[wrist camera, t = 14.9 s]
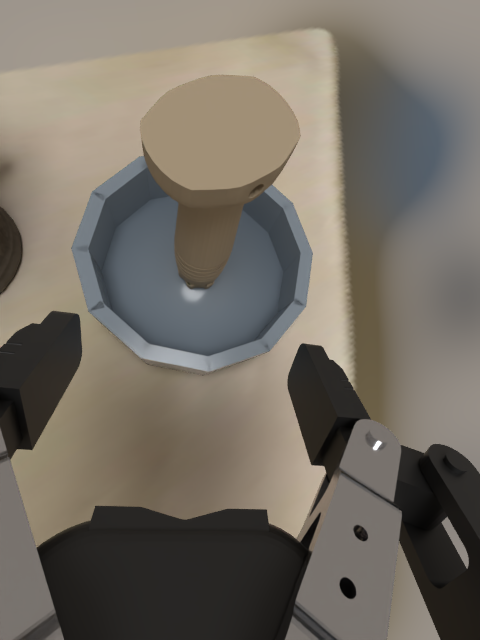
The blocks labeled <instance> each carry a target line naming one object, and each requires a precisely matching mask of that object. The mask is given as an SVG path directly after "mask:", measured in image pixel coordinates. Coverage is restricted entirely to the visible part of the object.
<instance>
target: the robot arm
mask: <svg viewBox="0 0 480 640" xmlns="http://www.w3.org/2000/svg"><path fill="white" fill-rule="evenodd" d="M81 356H82V343H81V328H80V318H79V315H78V314H74V313H66V312H58V311H52V312H51V313H50V314H49V315H48V316H47V317H46V318H45V319H44V320H43V321H42V323H41V324H34V323H32V324H30V325H28V326H26V327H24V328H22V329H20V330H19V331H17V332H16V333H15V334H14V335H13V336H12V337H11V338H10V339H9V340H8V341H7V343H6V344H4V345H3V346H2V347H1V348H0V640H387V636H388V627H389V619H390V610H391V602H392V594H393V585H394V577H395V568H396V561H397V552H398V544H399V541H400V544H401V546H402V548H403V551H404V553H405V556H406V558H407V561H408V563H409V565H410V568H411V570H412V572H413V575H414V577H415V580H416V582H417V584H418V587H419V589H420V592H421V594H422V596H423V599H424V601H425V604H426V606H427V608H428V611H429V613H430V616H431V618H432V620H433V623H434V625H435V628H436V630H437V632H438V635H439V637H440V639H441V640H480V474H479V472H478V471H477V470H476V468H475V467H474V466H473V465H472V463H471V462H470V461H469V460H468V459H467V458H465V457H464V456H463V455H462V454H460V453H459V452H457V451H456V450H454V449H452V448H450V447H448V446H445V445H441V444H433V445H431V446H430V447H429V449H428V450H427V451H426V452H425V453H422V452H419V451H416V450H414V449H411V448H408V447H405V446H402V445H400V443H399V441H398V439H397V438H396V436H395V435H394V434H393V433H392V432H391V431H390V430H389V429H388V428H386V427H385V426H383V425H382V424H380V423H378V422H375V421H373V420H371V419H370V417H369V415H368V413H367V412H366V410H365V408H364V406H363V404H362V403H361V401H360V399H359V397H358V396H357V394H356V392H355V390H353V387H352V385H351V383H350V382H348V378H347V376H346V374H345V373H344V371H343V369H342V368H341V367H340V366H339V365H338V364H336V363H335V362H334V361H333V360H329V358H328V356H327V354H326V352H325V350H324V349H323V347H322V346H318V345H310V344H301V345H300V347H299V349H298V351H297V354H296V356H295V359H294V361H293V364H292V367H291V369H290V372H289V375H288V390H289V394H290V397H291V400H292V403H293V407H294V410H295V413H296V416H297V420H298V423H299V426H300V430H301V433H302V436H303V439H304V443H305V446H306V449H307V452H308V456H309V459H310V462H311V465H318V466H324V467H325V470H326V473H325V475H324V477H323V479H322V481H321V484H320V486H319V489H318V491H317V493H316V496H315V498H314V501H313V503H312V506H311V508H310V510H309V513H308V515H307V518H306V520H305V523H304V525H303V527H302V529H301V531H300V533H299V535H298V537H297V539H295V538H294V537H293V536H292V535H290V534H289V533H287V532H285V531H284V530H282V529H280V528H278V527H276V526H274V525H271V524H269V523H268V516H267V510H259V509H225V510H221V511H218V512H214V513H210V514H207V515H203V516H199V517H196V518H192V519H188V520H182V519H178V518H175V517H172V516H168V515H165V514H162V513H159V512H155V511H152V510H149V509H146V508H142V507H118V506H95V509H94V512H93V516H92V519H91V521H87V522H84V523H81V524H78V525H75V526H73V527H70V528H68V529H66V530H64V531H62V532H60V533H58V534H56V535H55V536H53V537H52V538H50V539H48V540H47V541H45V542H44V543H42V544H41V545H40V546H38V547H37V548H36V545H35V542H34V538H33V535H32V532H31V528H30V525H29V522H28V518H27V515H26V511H25V508H24V505H23V501H22V498H21V495H20V491H19V488H18V485H17V481H16V478H15V475H14V471H13V468H12V465H11V461H10V459H11V458H12V456H13V454H14V453H15V451H16V449H27V450H33V448H34V446H35V444H36V442H37V441H38V439H39V437H40V435H41V433H42V432H43V430H44V428H45V426H46V425H47V423H48V421H49V419H50V417H51V416H52V414H53V412H54V410H55V408H56V407H57V405H58V403H59V401H60V399H61V398H62V396H63V394H64V392H65V391H66V389H67V387H68V385H69V383H70V382H71V380H72V378H73V376H74V374H75V373H76V371H77V369H78V367H79V364H80V361H81ZM447 516H448V518H449V520H450V522H451V523H452V525H453V527H454V529H455V530H456V532H457V534H458V535H459V537H460V539H461V541H462V543H463V544H464V546H465V548H466V551H467V553H468V557H469V566H468V569H467V568H466V567H465V565H464V563H463V561H462V559H461V557H460V556H459V554H458V552H457V550H456V548H455V546H454V545H453V543H452V541H451V539H450V537H449V536H448V534H447V532H446V530H445V528H444V527H443V525H442V523H441V522H442V521H443V520H444V519H445V518H446V517H447Z"/></svg>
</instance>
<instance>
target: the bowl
mask: <svg viewBox="0 0 480 640" xmlns="http://www.w3.org/2000/svg"><path fill="white" fill-rule="evenodd" d="M177 212H178V202H177V201H175V200H173V199H172V198H171V197H170V196H169V195H167V194H166V193H165V192H164V191H163V190H162V189H161V187H160V186H159V185H158V184H157V183H156V181H155V180H154V178H153V176H152V175H151V173H150V171H149V169H148V166H147V164H146V161H145V158H144V156H141V157H138V158H137V159H136V160H134V161H133V162H131V163H130V164H129V165H127V166H126V167H125V168H123V169H122V170H121V171H119V172H118V173H117V174H115V175H114V176H113V177H111V178H110V179H109V180H107V181H106V182H104V183H103V184H102V185H100V186H99V187H98V188H96V189H95V190H94V191H92V193H91V196H90V199H89V202H88V204H87V207H86V210H85V213H84V215H83V218H82V221H81V224H80V226H79V229H78V232H77V235H76V237H75V240H74V243H73V246H72V248H71V249H72V252H73V256H74V259H75V263H76V267H77V270H78V274H79V278H80V281H81V285H82V289H83V293H84V296H85V300H86V304H87V307H88V311H89V312H90V313H91V314H92V315H93V316H94V317H95V318H96V319H97V320H98V321H99V322H101V323H102V324H103V325H104V326H105V327H106V328H107V329H108V330H110V331H111V332H112V333H113V334H114V335H115V336H116V337H117V338H118V339H120V340H121V341H122V342H123V343H124V344H125V345H126V346H127V347H129V348H130V349H131V350H132V351H133V352H134V353H135V354H136V355H137V356H139V357H140V358H141V359H142V360H143V361H144V362H145V363H146V364H148V365H153V366H158V367H163V368H168V369H173V370H178V371H183V372H188V373H193V374H199V375H205V374H208V373H211V372H214V371H217V370H219V369H222V368H225V367H228V366H231V365H234V364H237V363H240V362H243V361H246V360H248V359H251V358H254V357H257V356H259V355H261V354H264V353H266V352H269V351H270V350H271V349H272V347H273V346H274V345H275V344H276V343H277V341H278V340H279V339H280V338H281V336H282V335H283V334H284V333H285V332H286V330H287V329H288V328H289V327H290V325H291V324H292V323H293V322H294V321H295V319H296V318H297V317H298V316H299V314H300V313H301V312H302V311H303V309H304V308H305V307H306V302H307V294H308V287H309V279H310V271H311V263H312V255H313V252H312V250H311V247H310V245H309V243H308V240H307V238H306V235H305V233H304V230H303V228H302V225H301V223H300V220H299V218H298V215H297V213H296V210H295V208H294V205H293V203H292V202H291V201H290V200H288V199H287V198H286V197H285V196H284V195H283V194H282V193H281V192H280V191H278V190H277V189H276V188H275V187H274V186H273V185H271V186H270V187H268V188H267V189H266V190H265V191H264V192H263V193H262V194H261V195H260V196H258V197H257V198H255V199H254V200H253V201H251V202H248V203H246V204H244V206H243V210H242V213H241V217H240V221H239V225H238V229H237V233H236V237H235V241H234V245H233V248H232V252H231V254H230V257H229V259H228V261H227V263H226V265H225V267H224V269H223V271H222V272H221V273H220V275H219V276H218V277H217V278H216V279H215V281H214V283H213V285H212V286H211V287H210V288H208V289H204V288H193V289H190V288H188V287H187V285H186V282H185V280H184V279H183V278H181V277H180V276H179V273H178V267H177V264H176V259H175V252H174V237H175V229H176V220H177Z"/></svg>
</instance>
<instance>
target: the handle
mask: <svg viewBox="0 0 480 640" xmlns="http://www.w3.org/2000/svg"><path fill="white" fill-rule="evenodd" d="M140 132H141V139H142V147H143V153H144V158H145V161H146V164H147V166H148V169H149V171H150V173H151V175H152V176H153V178H154V180H155V181H156V183H157V184H158V185H159V186H160V187H161V189H162V190H163V191H164V192H165V193H166V194H167V195H169V196H170V197H171V198H172V199H173V200H175V201H177V202H178V212H177V220H176V229H175V237H174V252H175V259H176V264H177V267H178V273H179V276H180V277H181V278H183V279H184V280H185V282H186V285H187V287H188V288H190V289H193V288H204V289H208V288H210V287H211V286H212V285H213V283H214V281H215V279H216V278H217V277H218V276H219V275H220V273H221V272H222V271H223V269H224V267H225V265H226V263H227V261H228V259H229V257H230V254H231V252H232V248H233V245H234V241H235V237H236V233H237V229H238V225H239V221H240V217H241V213H242V210H243V206H244V204H246V203H248V202H251V201H253V200H254V199H255V198H257V197H258V196H260V195H261V194H262V193H263V192H264V191H265V190H266V189H267V188H268V187H270V186H271V185H272V184H273V182H274V181H275V180H276V178H277V177H278V176H279V174H280V173H281V171H282V170H283V168H284V166H285V165H286V163H287V161H288V160H289V158H290V156H291V154H292V153H293V151H294V149H295V147H296V145H297V143H298V140H299V138H300V128H299V124H298V120H297V118H296V116H295V114H294V112H293V111H292V109H291V108H290V106H289V105H288V103H287V102H286V101H285V100H284V99H283V97H282V96H281V95H280V94H279V93H278V92H277V91H276V90H274V89H273V88H272V87H271V86H270V85H268V84H267V83H265V82H263V81H262V80H260V79H258V78H256V77H251V76H237V75H211V76H207V77H203V78H199V79H197V80H194V81H191V82H188V83H186V84H183V85H180V86H178V87H176V88H174V89H172V90H170V91H168V92H167V93H166V94H164V95H163V96H162V97H161V98H160V99H159V100H158V101H157V102H156V103H155V104H154V105H153V107H152V108H151V109H150V110H149V111H148V112H147V114H146V115H145V116H144V117H143V118H142V119H141V121H140Z"/></svg>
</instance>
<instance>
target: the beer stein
mask: <svg viewBox="0 0 480 640" xmlns="http://www.w3.org/2000/svg"><path fill="white" fill-rule="evenodd" d="M21 250H22V248H21V239H20V234H19V231H18V229H17V227H16V225H15V223H14V221H13V220H12V219H11V217H10V216H9V215H8V214H7V213H6V211H5V210H4V209H2V208H1V207H0V293H1V292H2V291H3V290H4V289H5V287H6V286H7V285H8V283H9V282H10V281H11V280H12V278H13V277H14V276H15V273H16V270H17V268H18V265H19V262H20V260H21Z"/></svg>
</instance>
